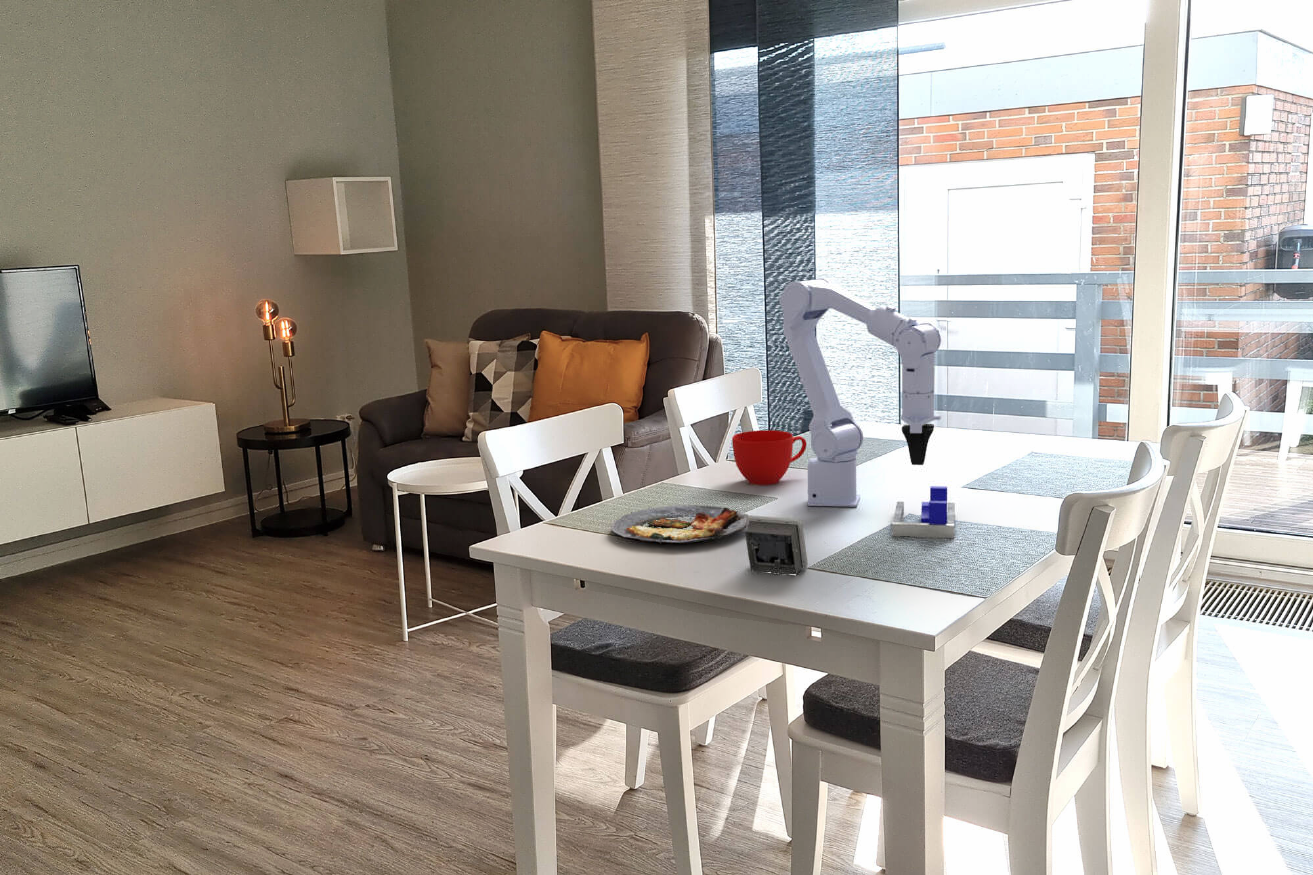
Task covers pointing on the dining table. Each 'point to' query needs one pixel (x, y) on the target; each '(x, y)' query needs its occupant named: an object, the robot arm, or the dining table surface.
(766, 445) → the ceramic cup
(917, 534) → the rail bracket
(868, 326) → the robot arm
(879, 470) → the dining table surface
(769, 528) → the electrical switch
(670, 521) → the food plate
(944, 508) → the blue stepped block
